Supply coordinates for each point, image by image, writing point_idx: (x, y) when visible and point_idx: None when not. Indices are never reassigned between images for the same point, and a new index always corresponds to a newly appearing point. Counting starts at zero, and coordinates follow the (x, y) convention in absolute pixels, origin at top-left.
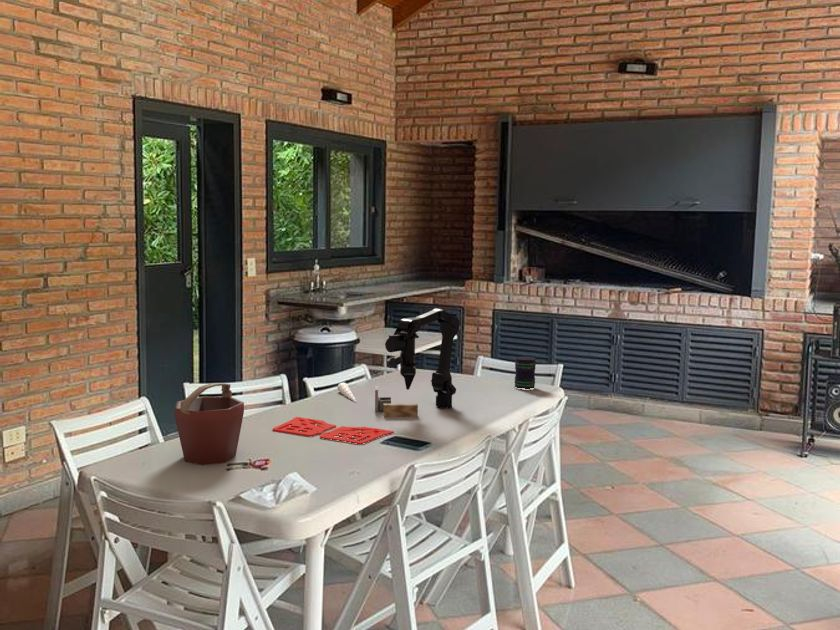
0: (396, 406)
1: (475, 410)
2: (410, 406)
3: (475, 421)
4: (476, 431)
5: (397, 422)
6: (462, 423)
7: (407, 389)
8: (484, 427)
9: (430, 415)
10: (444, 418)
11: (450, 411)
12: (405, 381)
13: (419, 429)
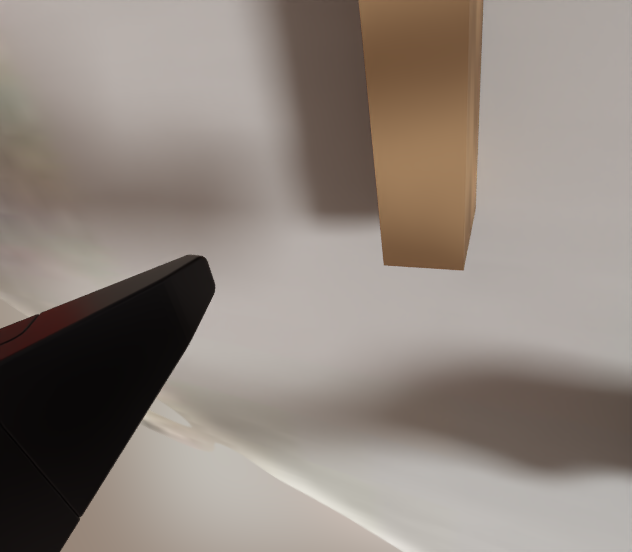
0: (366, 9)
1: (592, 541)
2: (381, 189)
3: (339, 459)
4: (187, 413)
5: (213, 35)
6: (292, 408)
7: (197, 267)
8: (251, 452)
9: (469, 304)
10: (385, 363)
11: (591, 438)
12: (26, 330)
13: (115, 202)
